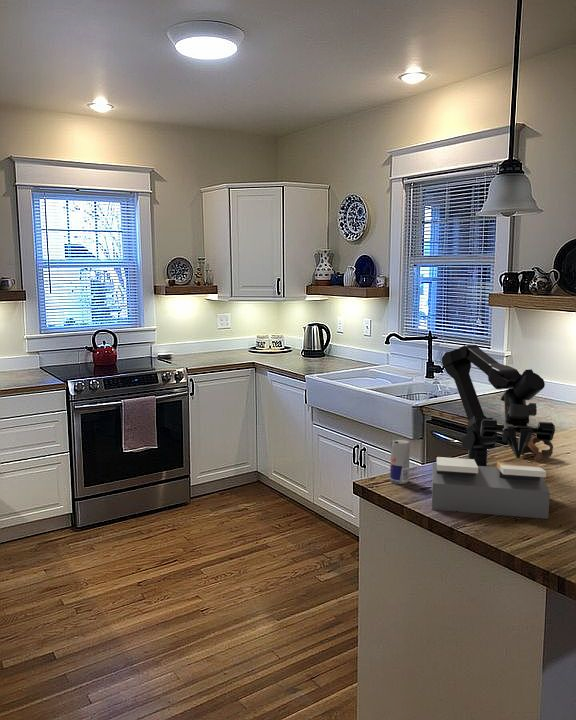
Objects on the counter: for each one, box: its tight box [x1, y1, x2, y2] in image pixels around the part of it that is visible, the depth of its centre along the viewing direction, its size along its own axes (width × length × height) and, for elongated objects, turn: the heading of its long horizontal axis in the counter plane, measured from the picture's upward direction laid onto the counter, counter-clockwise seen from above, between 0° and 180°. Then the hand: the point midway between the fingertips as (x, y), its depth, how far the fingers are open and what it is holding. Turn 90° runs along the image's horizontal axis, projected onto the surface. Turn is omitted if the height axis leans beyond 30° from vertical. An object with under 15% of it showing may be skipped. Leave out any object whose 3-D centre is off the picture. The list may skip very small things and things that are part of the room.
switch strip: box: [431, 462, 551, 520], centre depth 169 cm, size 18×28×8 cm, turn 77°
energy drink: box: [389, 438, 411, 485], centre depth 185 cm, size 5×5×12 cm
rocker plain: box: [436, 456, 478, 473], centre depth 170 cm, size 16×10×1 cm, turn 167°
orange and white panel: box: [496, 461, 547, 478], centre depth 166 cm, size 16×10×1 cm, turn 167°
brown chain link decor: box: [516, 435, 554, 463], centre depth 209 cm, size 12×10×8 cm
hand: (518, 457), depth 170 cm, fingers closed
